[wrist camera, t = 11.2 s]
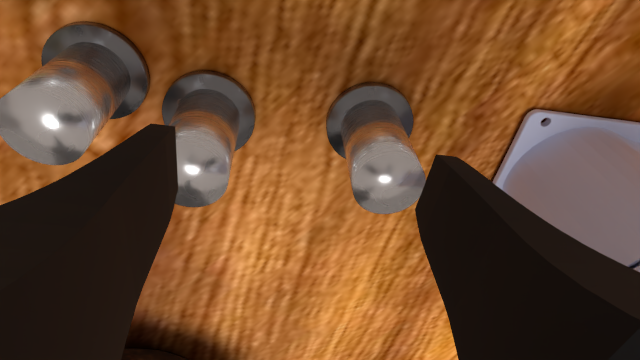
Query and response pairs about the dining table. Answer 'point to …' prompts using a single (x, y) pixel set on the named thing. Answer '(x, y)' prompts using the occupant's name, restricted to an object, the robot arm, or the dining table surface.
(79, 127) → the spacer field
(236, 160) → the dining table surface
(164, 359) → the glass bottle
